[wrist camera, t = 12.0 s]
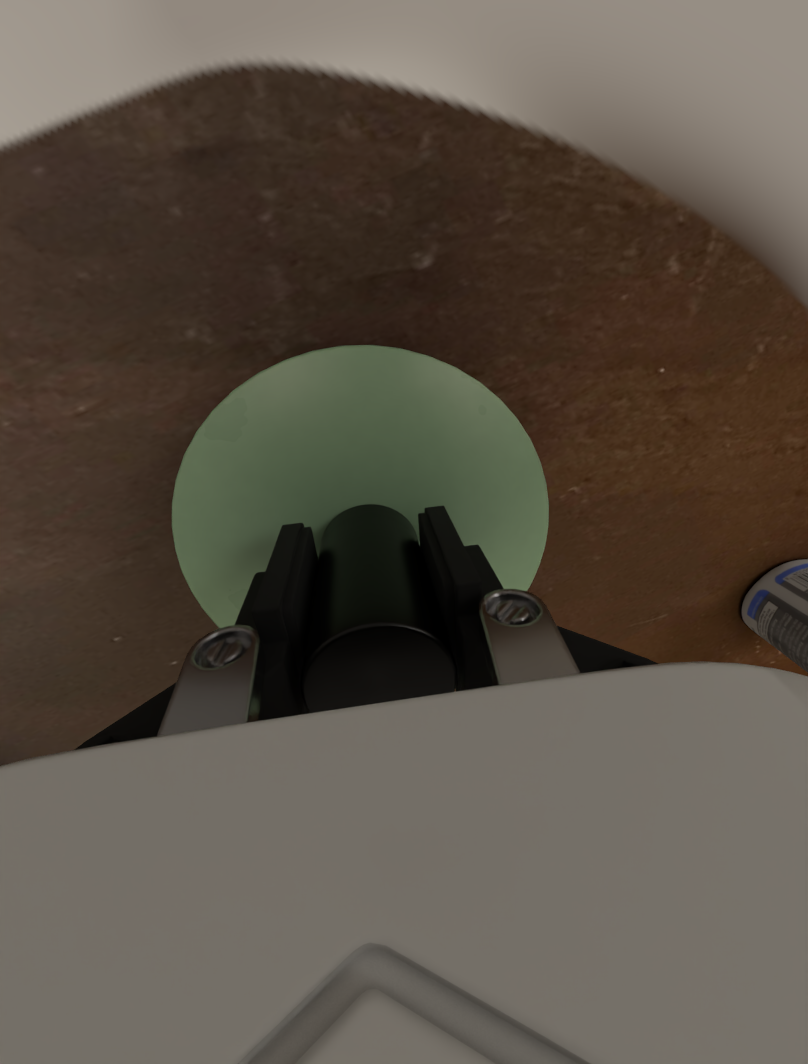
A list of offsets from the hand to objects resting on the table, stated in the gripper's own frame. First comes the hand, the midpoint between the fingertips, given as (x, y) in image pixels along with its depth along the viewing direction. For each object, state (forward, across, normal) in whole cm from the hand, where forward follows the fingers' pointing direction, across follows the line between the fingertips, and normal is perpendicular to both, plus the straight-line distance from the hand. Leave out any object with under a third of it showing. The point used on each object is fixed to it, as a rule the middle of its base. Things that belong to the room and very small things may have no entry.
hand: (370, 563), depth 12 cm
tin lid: (+2, 0, 0) cm, 2 cm away
